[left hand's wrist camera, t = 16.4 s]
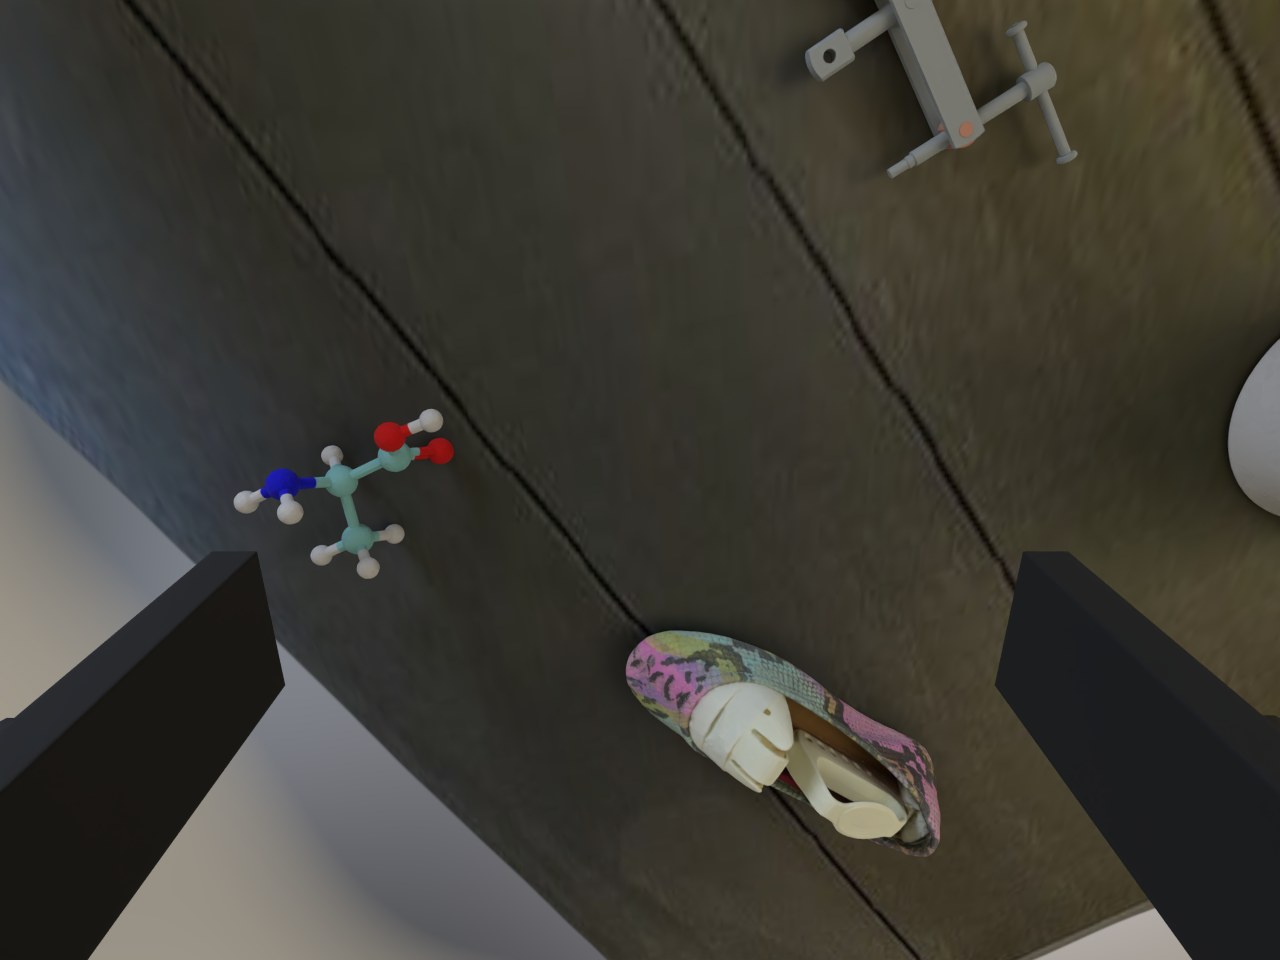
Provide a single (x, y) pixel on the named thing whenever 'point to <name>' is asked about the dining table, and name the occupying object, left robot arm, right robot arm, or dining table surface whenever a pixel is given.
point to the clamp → (939, 76)
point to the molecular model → (352, 487)
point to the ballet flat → (789, 736)
